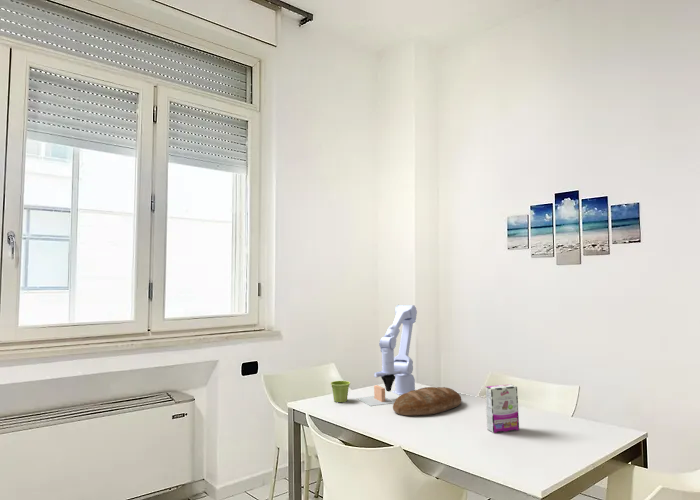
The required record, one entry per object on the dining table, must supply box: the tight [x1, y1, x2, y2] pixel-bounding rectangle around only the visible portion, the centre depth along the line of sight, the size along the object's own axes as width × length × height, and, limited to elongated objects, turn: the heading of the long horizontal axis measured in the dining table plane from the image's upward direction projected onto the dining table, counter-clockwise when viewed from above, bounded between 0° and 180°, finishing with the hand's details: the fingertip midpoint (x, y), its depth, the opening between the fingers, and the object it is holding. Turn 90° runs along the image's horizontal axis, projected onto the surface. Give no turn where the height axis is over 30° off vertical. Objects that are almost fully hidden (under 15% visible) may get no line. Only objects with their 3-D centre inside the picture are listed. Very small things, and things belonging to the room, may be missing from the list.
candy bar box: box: [484, 383, 520, 434], centre depth 192 cm, size 11×5×16 cm, turn 105°
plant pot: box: [330, 380, 351, 403], centre depth 240 cm, size 9×9×9 cm
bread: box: [392, 386, 463, 417], centre depth 226 cm, size 22×37×8 cm, turn 131°
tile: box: [373, 384, 386, 402], centre depth 240 cm, size 2×8×6 cm, turn 23°
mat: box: [356, 395, 395, 407], centre depth 239 cm, size 13×16×1 cm
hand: (388, 391), depth 242 cm, fingers closed
